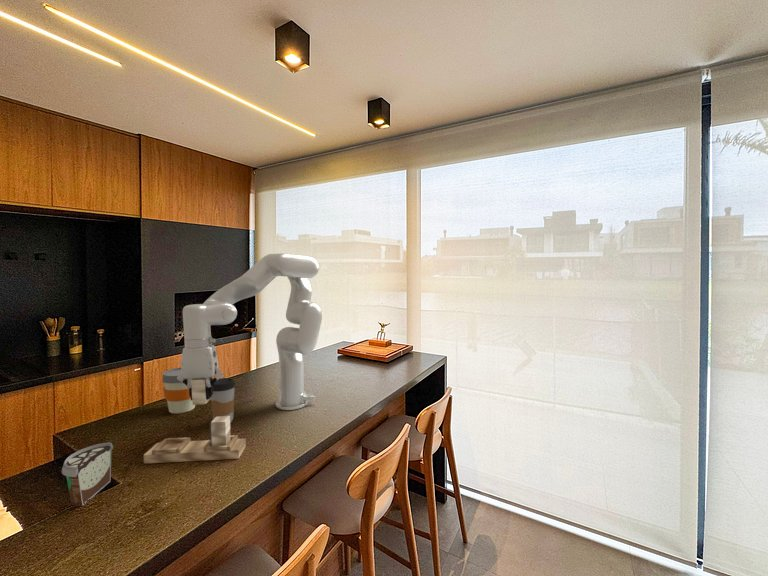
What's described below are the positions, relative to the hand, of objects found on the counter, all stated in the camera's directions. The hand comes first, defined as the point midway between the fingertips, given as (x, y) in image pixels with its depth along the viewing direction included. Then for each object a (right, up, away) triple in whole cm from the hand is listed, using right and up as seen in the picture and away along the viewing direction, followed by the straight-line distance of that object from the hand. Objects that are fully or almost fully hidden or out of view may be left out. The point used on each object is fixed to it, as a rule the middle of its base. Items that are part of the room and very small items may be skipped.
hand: (201, 397), depth 113 cm
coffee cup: (+1, -13, +12) cm, 18 cm away
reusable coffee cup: (-20, -12, +24) cm, 34 cm away
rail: (+4, -14, -9) cm, 17 cm away
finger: (0, -1, 0) cm, 1 cm away
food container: (-15, -15, -27) cm, 34 cm away
